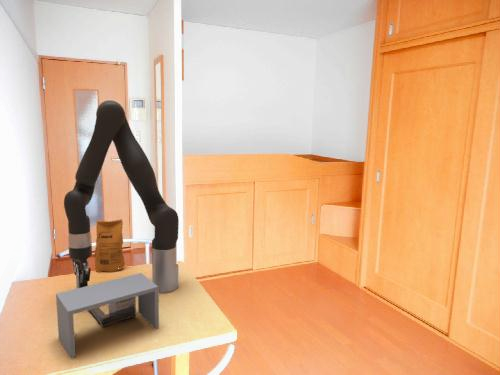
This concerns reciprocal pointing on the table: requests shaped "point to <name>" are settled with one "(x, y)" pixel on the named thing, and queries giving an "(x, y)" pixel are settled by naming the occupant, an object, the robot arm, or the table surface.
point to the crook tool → (112, 316)
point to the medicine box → (122, 305)
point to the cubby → (105, 303)
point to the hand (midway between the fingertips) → (82, 289)
